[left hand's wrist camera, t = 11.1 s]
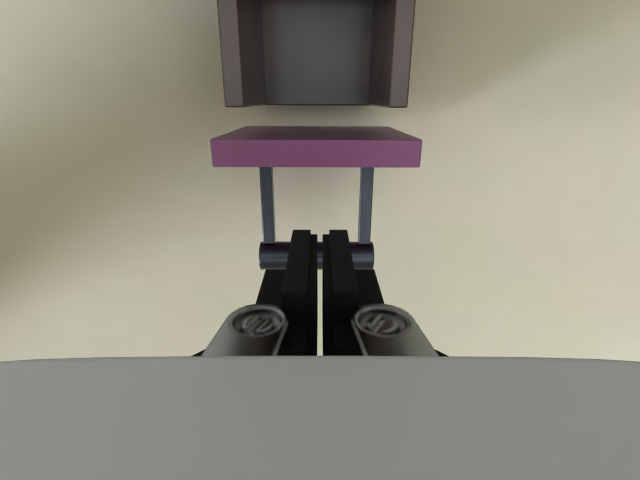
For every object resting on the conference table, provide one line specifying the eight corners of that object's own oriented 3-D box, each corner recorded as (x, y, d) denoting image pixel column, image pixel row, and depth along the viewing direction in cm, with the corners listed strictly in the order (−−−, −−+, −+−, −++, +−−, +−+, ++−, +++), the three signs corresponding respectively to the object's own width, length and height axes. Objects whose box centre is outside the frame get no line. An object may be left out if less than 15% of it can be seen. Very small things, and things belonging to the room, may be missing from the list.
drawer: (382, 231, 27) (408, 287, 19) (252, 231, 27) (223, 287, 19) (404, -125, 20) (460, -274, 12) (230, -126, 20) (171, -275, 12)
